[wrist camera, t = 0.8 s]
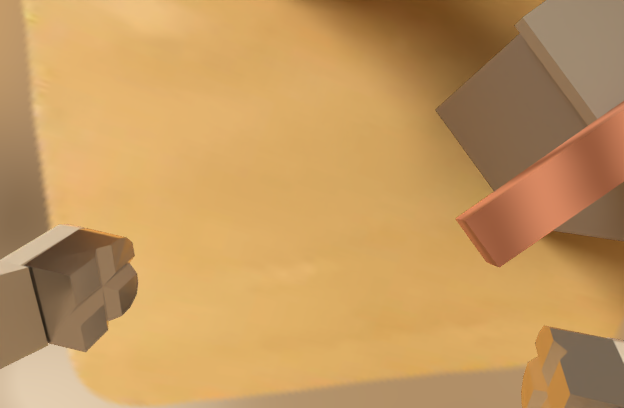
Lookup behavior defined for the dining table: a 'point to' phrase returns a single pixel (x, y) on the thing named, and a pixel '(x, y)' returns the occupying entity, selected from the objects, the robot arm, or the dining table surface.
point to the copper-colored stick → (549, 191)
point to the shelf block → (546, 98)
